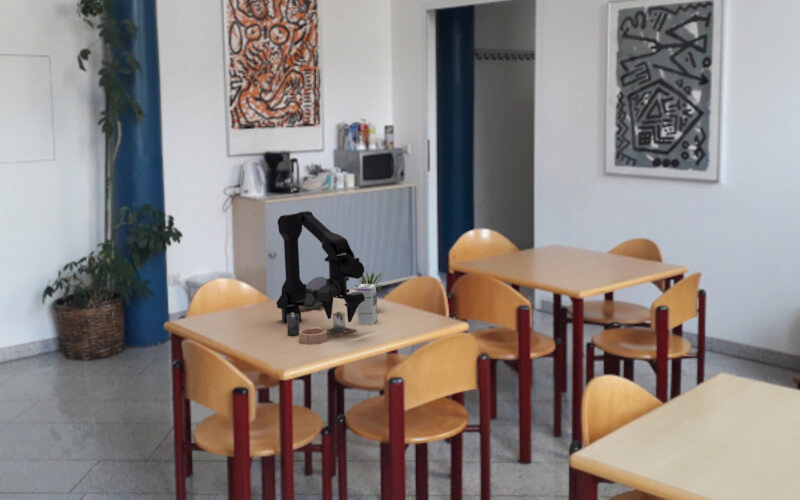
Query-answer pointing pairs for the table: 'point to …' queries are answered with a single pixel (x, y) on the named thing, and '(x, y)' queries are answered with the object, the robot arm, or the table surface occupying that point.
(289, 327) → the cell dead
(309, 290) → the bluetooth speaker
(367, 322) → the syrup box
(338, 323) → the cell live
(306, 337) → the pot
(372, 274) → the house plant
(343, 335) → the brown wooden tray
